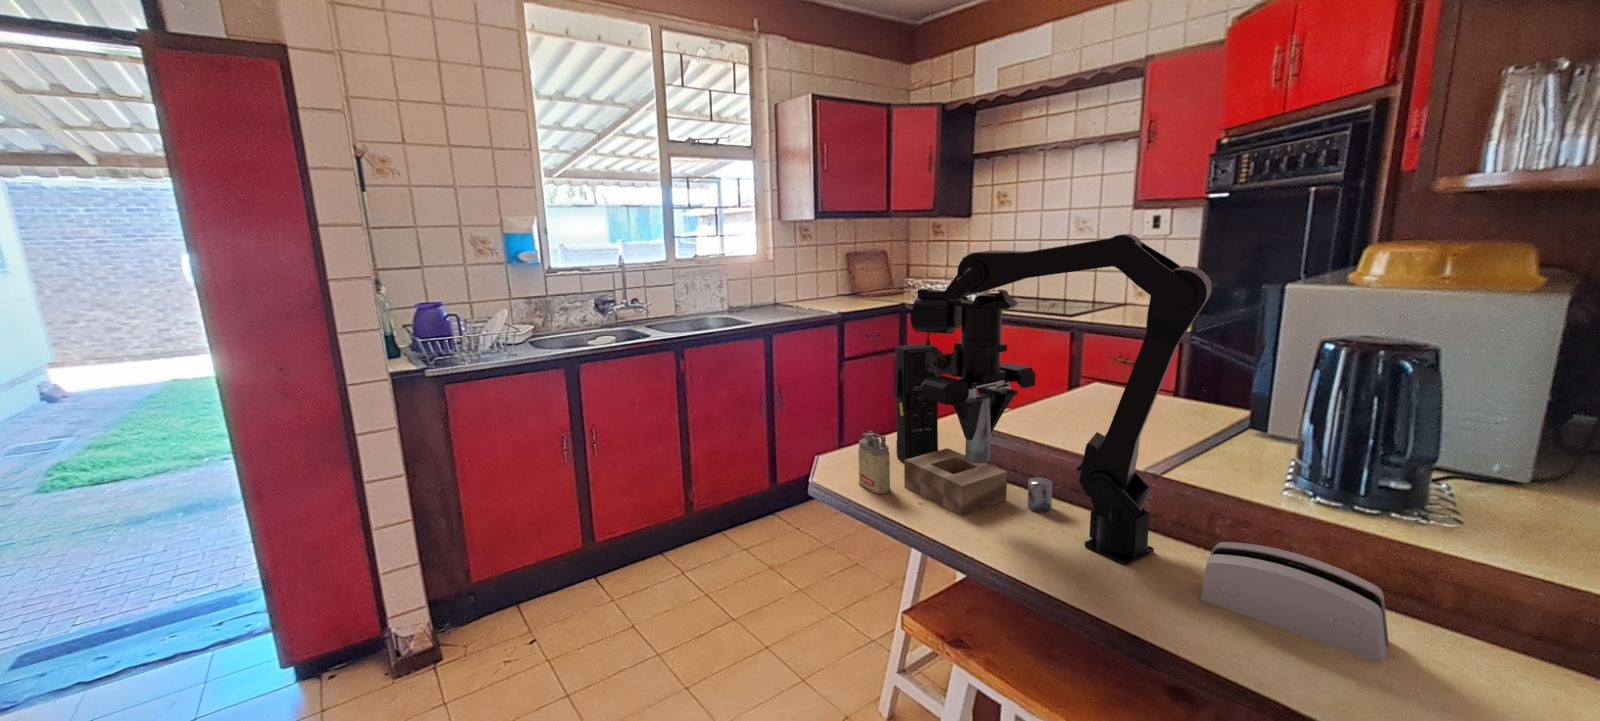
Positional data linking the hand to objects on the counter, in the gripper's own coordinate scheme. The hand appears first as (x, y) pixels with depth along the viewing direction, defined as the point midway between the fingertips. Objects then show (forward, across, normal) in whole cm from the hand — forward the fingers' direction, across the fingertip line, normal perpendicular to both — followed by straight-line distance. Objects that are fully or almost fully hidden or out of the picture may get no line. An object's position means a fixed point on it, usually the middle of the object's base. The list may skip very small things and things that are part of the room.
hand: (977, 436), depth 98 cm
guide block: (+13, -3, -8) cm, 16 cm away
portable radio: (+13, -9, -24) cm, 29 cm away
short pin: (+13, -10, +4) cm, 17 cm away
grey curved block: (+13, -7, +39) cm, 42 cm away
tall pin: (+4, 0, 0) cm, 4 cm away
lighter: (+13, +6, -18) cm, 23 cm away
